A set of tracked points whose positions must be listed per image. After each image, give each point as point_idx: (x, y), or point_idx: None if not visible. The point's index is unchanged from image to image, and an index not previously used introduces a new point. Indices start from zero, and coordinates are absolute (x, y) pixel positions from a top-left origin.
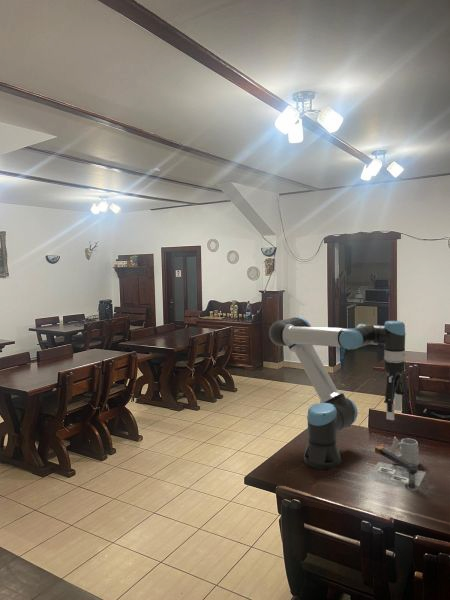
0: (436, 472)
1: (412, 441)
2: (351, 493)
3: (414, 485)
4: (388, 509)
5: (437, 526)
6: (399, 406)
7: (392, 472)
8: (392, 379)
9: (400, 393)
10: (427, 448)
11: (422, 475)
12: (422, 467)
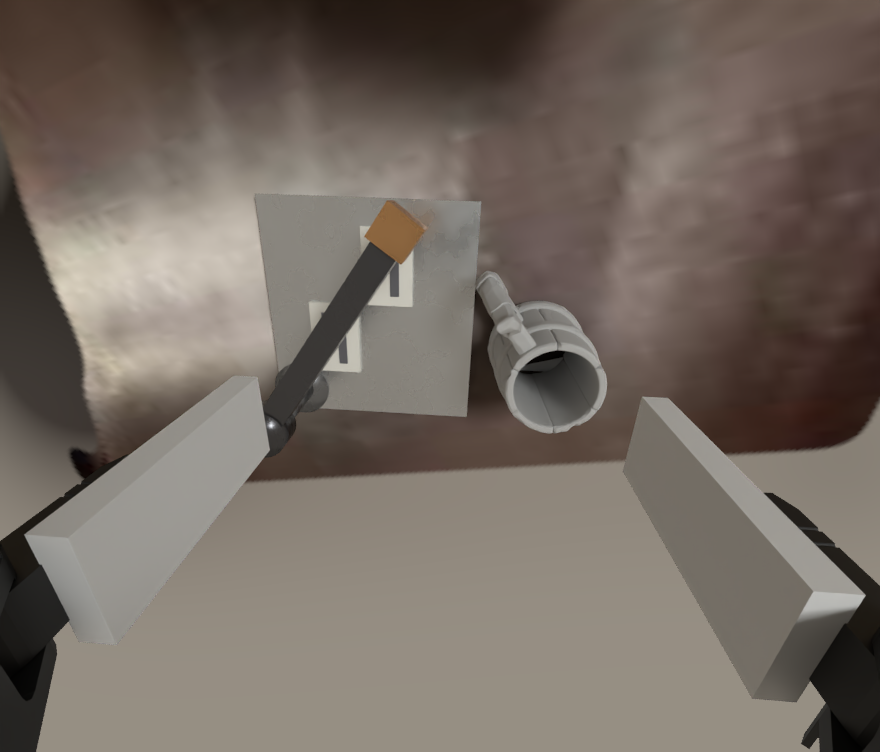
0: (500, 443)
1: (590, 396)
2: (106, 164)
3: None
4: (109, 335)
5: None
6: (651, 487)
7: (379, 297)
8: None
9: (829, 713)
10: (765, 388)
11: (427, 408)
12: None
